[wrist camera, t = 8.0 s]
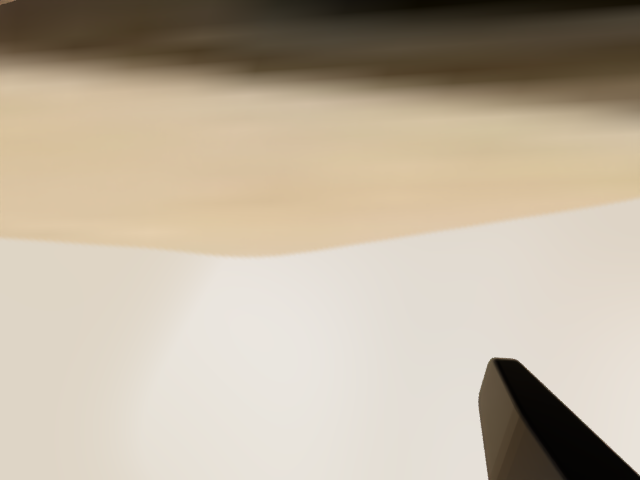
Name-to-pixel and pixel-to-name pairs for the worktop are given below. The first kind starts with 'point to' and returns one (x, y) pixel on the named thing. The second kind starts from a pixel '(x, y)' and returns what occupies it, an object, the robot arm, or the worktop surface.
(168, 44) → the worktop surface
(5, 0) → the tower base
